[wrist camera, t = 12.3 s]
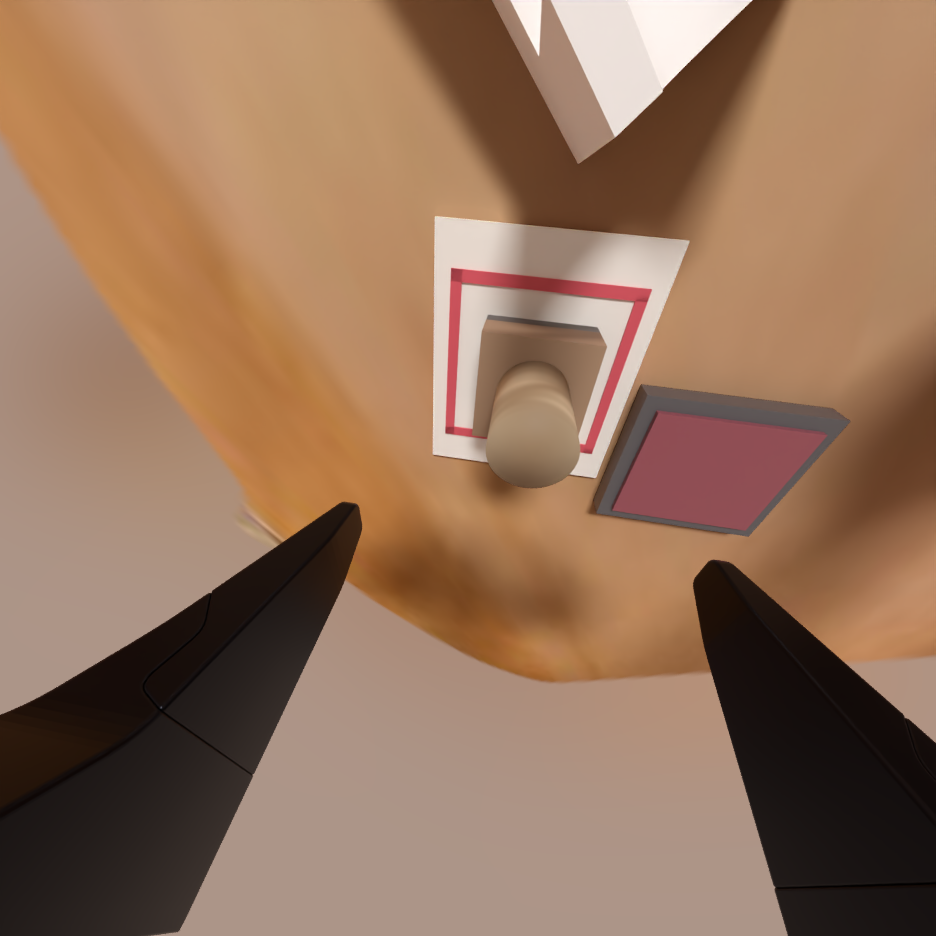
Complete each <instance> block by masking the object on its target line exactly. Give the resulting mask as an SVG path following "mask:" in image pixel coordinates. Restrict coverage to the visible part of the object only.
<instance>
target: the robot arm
mask: <svg viewBox="0 0 936 936" xmlns="http://www.w3.org/2000/svg"><path fill="white" fill-rule="evenodd" d="M361 531H362V521H361V515H360V510H359V506H358V505H357V504H355V503H349V502H341V503H339V504H338V505H336V506H335V507H333V508H332V509H331V510H329V511H328V512H326V513H325V514H323V515H322V516H320V517H319V518H317V519H316V520H315V521H313V522H312V523H310V524H309V525H307V526H306V527H304V528H303V529H301V530H300V531H298V532H297V533H296V534H294V535H293V536H291V537H290V538H288V539H287V540H285V541H284V542H282V543H281V544H280V545H278V546H277V547H275V548H274V549H272V550H271V551H269V552H268V553H266V554H265V555H264V556H262V557H261V558H259V559H258V560H256V561H255V562H253V563H252V564H250V565H249V566H248V567H246V568H245V569H243V570H242V571H240V572H239V573H237V574H236V575H234V576H233V577H231V578H230V579H229V580H227V581H226V582H224V583H223V584H221V585H220V586H218V587H217V588H215V589H214V590H213V591H212V593H208V594H206V595H205V596H203V597H202V598H201V599H199V600H198V601H196V602H195V603H193V604H192V605H190V606H189V607H187V608H186V609H184V610H183V611H181V612H180V613H178V614H177V615H175V616H174V617H172V618H171V619H169V620H168V621H166V622H165V623H163V624H161V625H160V626H158V627H157V628H155V629H153V630H152V631H150V632H148V633H147V634H145V635H143V636H142V637H140V638H139V639H137V640H135V641H134V642H132V643H131V644H129V645H127V646H125V647H124V648H122V649H120V650H119V651H117V652H115V653H114V654H112V655H110V656H108V657H107V658H105V659H103V660H102V661H100V662H98V663H97V664H95V665H93V666H92V667H90V668H88V669H87V670H85V671H83V672H82V673H80V674H78V675H77V676H75V677H73V678H72V679H70V680H68V681H66V682H65V683H63V684H61V685H60V686H58V687H56V688H55V689H53V690H51V691H49V692H47V693H46V694H44V695H42V696H40V697H38V698H36V699H35V700H33V701H30V702H28V703H26V704H24V705H22V706H20V707H18V708H15V709H13V710H11V711H9V712H6V713H4V714H1V715H0V936H151V935H159V934H166V933H174V932H178V931H179V930H180V928H181V926H182V924H183V923H184V921H185V919H186V917H187V914H188V912H189V910H190V908H191V906H192V904H193V902H194V900H195V898H196V896H197V894H198V892H199V889H200V887H201V885H202V883H203V881H204V879H205V877H206V875H207V872H208V870H209V868H210V866H211V864H212V862H213V860H214V858H215V856H216V853H217V851H218V849H219V847H220V845H221V843H222V841H223V838H224V837H225V834H226V832H227V830H228V828H229V826H230V824H231V822H232V820H233V817H234V815H235V813H236V811H237V809H238V807H239V805H240V802H241V801H242V799H243V796H244V794H245V792H246V790H247V788H248V786H249V784H250V782H251V779H252V777H253V775H252V774H254V773H255V771H256V768H257V766H258V764H259V762H260V760H261V758H262V756H263V754H264V752H265V749H266V747H267V745H268V743H269V741H270V739H271V736H272V735H273V733H274V730H275V728H276V726H277V724H278V722H279V720H280V718H281V716H282V714H283V711H284V709H285V707H286V705H287V703H288V701H289V699H290V697H291V694H292V692H293V690H294V688H295V686H296V684H297V682H298V680H299V678H300V675H301V673H302V671H303V669H304V667H305V665H306V663H307V660H308V658H309V656H310V654H311V652H312V650H313V648H314V646H315V644H316V642H317V640H318V637H319V635H320V633H321V631H322V629H323V627H324V625H325V623H326V621H327V618H328V616H329V614H330V612H331V610H332V608H333V606H334V604H335V602H336V599H337V597H338V595H339V593H340V591H341V588H342V586H343V584H344V581H345V578H346V576H347V573H348V570H349V567H350V564H351V561H352V558H353V555H354V552H355V549H356V546H357V544H358V541H359V538H360V535H361ZM693 589H694V594H695V600H696V606H697V611H698V617H699V622H700V628H701V634H702V639H703V644H704V648H705V652H706V656H707V659H708V663H709V666H710V669H711V673H712V676H713V679H714V683H715V687H716V690H717V693H718V697H719V700H720V703H721V707H722V711H723V714H724V717H725V721H726V724H727V728H728V731H729V734H730V738H731V741H732V745H733V748H734V751H735V755H736V758H737V762H738V765H739V769H740V772H741V776H742V779H743V782H744V785H745V789H746V793H747V796H748V799H749V802H750V806H751V810H752V813H753V816H754V820H755V823H756V826H757V830H758V833H759V837H760V841H761V844H762V847H763V851H764V854H765V857H766V861H767V864H768V868H769V871H770V875H771V878H772V881H773V885H774V886H775V887H776V888H775V893H776V896H777V900H778V903H779V907H780V910H781V913H782V917H783V920H784V924H785V927H786V931H787V934H788V936H936V743H935V742H934V741H933V740H932V739H930V737H928V736H927V735H926V734H925V733H924V732H923V731H922V730H920V729H919V728H918V727H917V726H916V725H915V724H914V723H912V722H911V721H910V720H909V719H907V718H905V717H904V715H903V714H902V713H901V712H900V711H899V710H898V709H897V708H895V707H894V706H893V705H892V704H891V703H890V702H889V701H887V700H886V699H885V698H884V697H883V696H882V695H881V694H879V693H878V692H877V691H876V690H875V689H874V688H872V686H870V685H869V684H868V683H867V682H866V681H865V680H864V679H862V678H861V677H860V676H859V675H858V674H857V673H855V671H853V670H852V669H851V668H850V667H849V666H848V665H847V664H845V663H844V662H843V661H842V660H841V659H840V658H839V657H838V656H836V655H835V654H834V653H833V652H832V651H831V650H830V649H828V648H827V647H826V646H825V645H824V644H823V643H822V642H820V641H819V640H818V639H817V638H816V637H815V636H814V635H813V634H811V633H810V632H809V631H808V630H807V629H806V628H805V627H803V626H802V625H801V624H800V623H799V622H798V621H797V620H796V619H794V618H793V617H792V616H791V615H790V614H789V613H788V612H786V611H785V610H784V609H783V608H782V607H781V606H780V605H779V604H777V603H776V602H775V601H774V600H773V599H772V598H771V597H769V596H768V595H767V594H766V593H765V592H764V591H763V590H761V589H760V588H759V587H758V586H757V585H756V584H755V583H754V582H752V581H751V580H750V579H749V578H748V577H747V576H746V575H744V574H743V573H742V572H741V571H740V570H739V569H738V568H737V567H735V566H734V565H733V564H731V563H729V562H726V561H720V560H710V561H709V562H708V563H707V564H706V565H705V566H704V567H703V569H702V570H701V571H700V572H699V573H698V575H697V576H696V577H695V579H694V582H693Z"/></svg>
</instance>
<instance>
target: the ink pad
mask: <svg viewBox="0 0 936 936" xmlns="http://www.w3.org/2000/svg"><path fill="white" fill-rule="evenodd" d="M849 423H850V420H848V419H847V418H845V417H844V416H843V415H841V414H840V413H838V412H837V411H836V410H834V409H832V408H824V407H817V406H809V405H801V404H793V403H785V402H777V401H769V400H761V399H753V398H745V397H737V396H729V395H721V394H713V393H705V392H697V391H689V390H681V389H673V388H665V387H657V386H649V385H642V384H641V386H640V389H639V391H638V394H637V396H636V398H635V401H634V403H633V406H632V408H631V411H630V413H629V415H628V418H627V420H626V423H625V425H624V427H623V430H622V432H621V435H620V437H619V440H618V442H617V444H616V447H615V449H614V452H613V454H612V456H611V459H610V461H609V464H608V466H607V469H606V471H605V473H604V476H603V478H602V481H601V483H600V485H599V488H598V490H597V493H596V495H595V498H594V505H595V510H596V513H598V514H604V515H611V516H618V517H624V518H631V519H637V520H644V521H650V522H657V523H663V524H670V525H676V526H683V527H690V528H696V529H703V530H709V531H716V532H722V533H729V534H735V535H742V536H748V537H749V535H750V534H751V533H752V532H753V531H754V530H755V529H756V528H757V526H758V525H759V524H760V523H761V522H762V521H763V520H764V518H765V517H766V516H767V515H768V514H769V513H770V512H771V511H772V509H773V508H774V507H775V506H776V505H777V504H778V503H779V502H780V500H781V499H782V498H783V497H784V496H785V495H786V494H787V493H788V491H789V490H790V489H791V488H792V487H793V486H794V485H795V483H796V482H797V481H798V480H799V479H800V478H801V477H802V476H803V474H804V473H805V472H806V471H807V470H808V469H809V468H810V467H811V465H812V464H813V463H814V462H815V461H816V460H817V459H818V458H819V456H820V455H821V454H822V453H823V452H824V451H825V450H826V448H827V447H828V446H829V445H830V444H831V443H832V442H833V441H834V439H835V438H836V437H837V436H838V435H839V434H840V433H841V432H842V430H843V429H844V428H845V427H846V426H847V425H848V424H849Z"/></svg>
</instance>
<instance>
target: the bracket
mask: <svg viewBox="0 0 936 936" xmlns="http://www.w3.org/2000/svg"><path fill="white" fill-rule="evenodd" d="M751 1H752V0H492V2H493V4H494V6H495V7H496V9H497V11H498V13H499V15H500V17H501V19H502V21H503V23H504V25H505V26H506V28H507V30H508V32H509V34H510V36H511V38H512V40H513V42H514V44H515V46H516V47H517V49H518V51H519V53H520V55H521V57H522V59H523V61H524V63H525V65H526V66H527V68H528V70H529V72H530V74H531V76H532V78H533V80H534V82H535V84H536V85H537V87H538V89H539V91H540V93H541V95H542V97H543V99H544V101H545V103H546V104H547V106H548V108H549V110H550V112H551V114H552V116H553V118H554V120H555V122H556V124H557V125H558V127H559V129H560V131H561V133H562V135H563V137H564V139H565V141H566V143H567V144H568V146H569V148H570V150H571V152H572V154H573V156H574V158H575V160H576V162H577V163H578V164H579V163H581V162H582V161H583V160H585V159H586V158H588V157H589V156H590V155H592V154H593V153H595V152H596V151H597V150H599V149H600V148H601V147H603V146H604V145H606V144H607V143H608V142H610V141H611V140H613V139H614V138H615V137H616V136H617V135H618V134H619V133H621V132H622V131H623V130H624V129H625V128H626V127H627V126H628V125H629V124H630V123H631V122H632V121H633V120H634V119H635V118H636V117H637V116H638V115H639V114H640V113H641V112H642V111H643V110H644V109H645V108H647V107H648V106H649V105H650V104H651V103H652V102H653V101H654V100H655V99H656V98H657V97H658V96H659V95H660V94H661V93H662V92H663V90H662V89H663V88H664V87H665V86H666V85H667V84H668V83H669V82H670V81H671V80H672V79H673V78H674V77H675V76H676V75H677V74H678V73H679V72H680V71H681V70H682V69H683V68H684V67H685V66H686V65H687V64H688V63H689V62H690V61H691V60H692V59H693V58H694V57H695V56H696V55H697V54H698V53H699V52H700V51H701V50H702V49H703V48H704V47H705V46H706V45H707V44H708V43H709V42H710V41H711V40H712V39H713V38H714V37H715V36H716V35H717V34H718V33H719V32H720V31H721V30H722V29H723V28H724V27H725V26H726V25H727V24H728V23H729V22H730V21H731V20H732V19H734V18H735V17H736V16H737V15H738V14H739V13H740V12H741V11H742V10H743V9H744V8H745V7H746V6H747V5H748V4H749V3H750V2H751Z"/></svg>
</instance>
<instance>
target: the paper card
mask: <svg viewBox="0 0 936 936" xmlns="http://www.w3.org/2000/svg"><path fill="white" fill-rule="evenodd" d="M689 242H690V241H688V240H680V239H669V238H659V237H648V236H638V235H628V234H617V233H607V232H596V231H586V230H575V229H565V228H555V227H544V226H534V225H523V224H513V223H503V222H492V221H482V220H471V219H461V218H451V217H440V216H435V263H434V383H433V455H440V456H447V457H454V458H461V459H468V460H474V461H481V462H488V461H487V458H486V443H487V438H488V437H481V436H474V435H472V430H473V419H474V408H475V397H476V386H477V376H478V365H479V354H480V343H481V333H482V329H483V327H484V324H485V321H486V319H487V316H488V315H496V316H505V317H514V318H522V319H531V320H540V321H548V322H557V323H566V324H574V325H583V326H592V327H598V329H599V331H600V333H601V335H602V337H603V339H604V341H605V343H606V345H607V349H606V352H605V355H604V358H603V361H602V364H601V367H600V371H599V374H598V377H597V380H596V383H595V386H594V389H593V392H592V395H591V398H590V401H589V405H588V408H587V411H586V414H585V417H584V420H583V423H582V426H581V429H580V432H579V435H578V437H579V442H580V457H579V460H578V463H577V465H576V466H575V468H574V469H573V471H572V472H571V473H570V474H571V475H577V476H584V477H591V478H596V476H597V474H598V471H599V469H600V466H601V464H602V461H603V458H604V456H605V453H606V451H607V448H608V446H609V443H610V441H611V438H612V436H613V433H614V431H615V428H616V426H617V423H618V421H619V418H620V416H621V413H622V411H623V408H624V406H625V403H626V401H627V398H628V396H629V393H630V391H631V388H632V385H633V383H634V380H635V378H636V375H637V373H638V370H639V368H640V365H641V363H642V360H643V358H644V355H645V353H646V350H647V348H648V345H649V343H650V340H651V338H652V335H653V333H654V330H655V328H656V325H657V323H658V320H659V318H660V315H661V313H662V310H663V307H664V305H665V302H666V300H667V297H668V295H669V292H670V290H671V287H672V285H673V282H674V280H675V277H676V275H677V272H678V270H679V267H680V265H681V262H682V260H683V257H684V255H685V252H686V250H687V247H688V245H689Z"/></svg>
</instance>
